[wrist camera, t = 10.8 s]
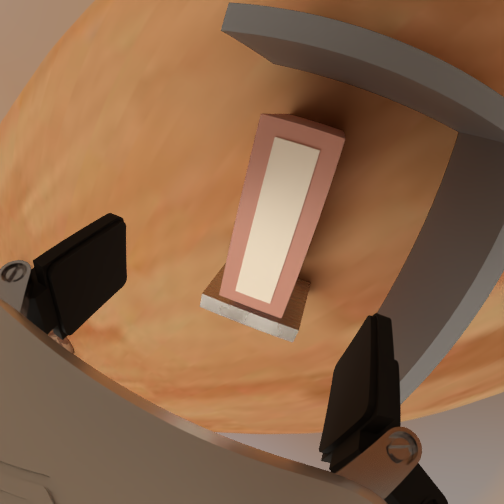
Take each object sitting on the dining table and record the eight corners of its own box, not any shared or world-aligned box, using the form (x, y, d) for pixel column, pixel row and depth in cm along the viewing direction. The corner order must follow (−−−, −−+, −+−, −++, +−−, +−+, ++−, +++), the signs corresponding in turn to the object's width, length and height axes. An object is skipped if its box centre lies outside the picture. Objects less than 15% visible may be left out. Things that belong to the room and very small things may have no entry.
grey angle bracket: (277, 46, 20) (229, 2, 10) (478, 123, 17) (555, 139, 8) (223, 269, 30) (170, 340, 21) (384, 326, 28) (389, 415, 18)
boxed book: (289, 114, 22) (259, 113, 14) (343, 130, 21) (345, 139, 13) (255, 241, 28) (218, 296, 20) (301, 258, 27) (280, 320, 19)
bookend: (232, 254, 29) (202, 293, 23) (310, 283, 28) (298, 330, 22) (222, 297, 32) (194, 340, 26) (292, 324, 31) (277, 372, 25)
